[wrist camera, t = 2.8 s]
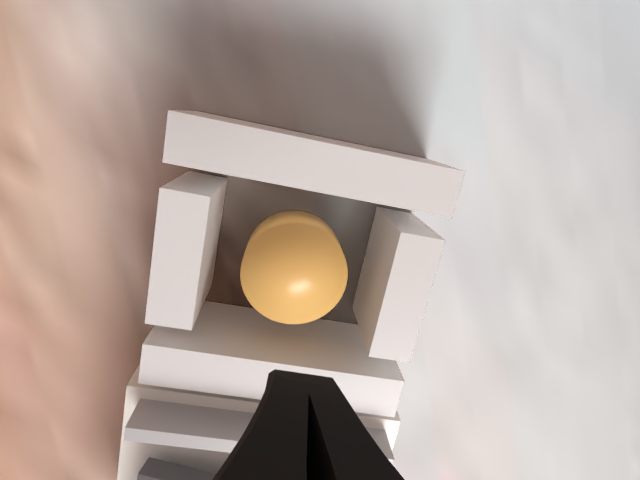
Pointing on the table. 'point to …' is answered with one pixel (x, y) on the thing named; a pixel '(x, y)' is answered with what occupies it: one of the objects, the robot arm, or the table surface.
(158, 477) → the rocker switch
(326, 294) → the button
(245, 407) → the box
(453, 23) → the table surface
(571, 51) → the table surface
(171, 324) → the button guard
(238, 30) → the table surface
